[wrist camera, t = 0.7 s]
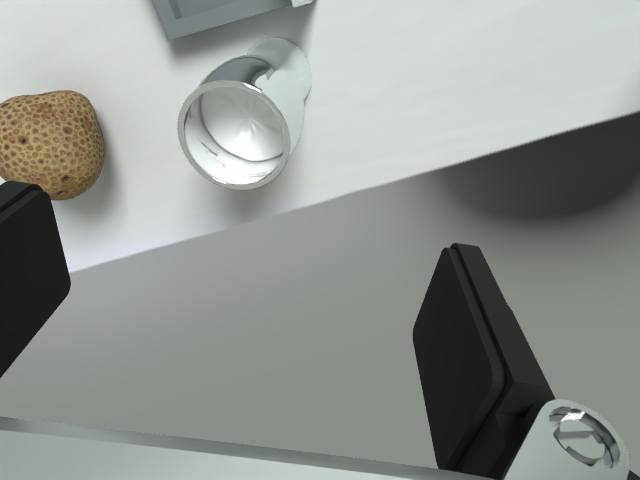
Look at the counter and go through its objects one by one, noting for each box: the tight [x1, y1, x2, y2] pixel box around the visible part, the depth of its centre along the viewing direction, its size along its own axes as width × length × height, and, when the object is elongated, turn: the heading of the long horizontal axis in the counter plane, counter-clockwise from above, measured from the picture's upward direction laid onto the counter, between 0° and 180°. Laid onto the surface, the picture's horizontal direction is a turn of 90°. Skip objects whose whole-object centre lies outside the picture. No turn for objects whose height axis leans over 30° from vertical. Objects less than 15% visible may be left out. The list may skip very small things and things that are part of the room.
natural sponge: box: [0, 90, 105, 200], centre depth 36 cm, size 9×9×10 cm
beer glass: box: [178, 38, 312, 190], centre depth 30 cm, size 7×7×15 cm
